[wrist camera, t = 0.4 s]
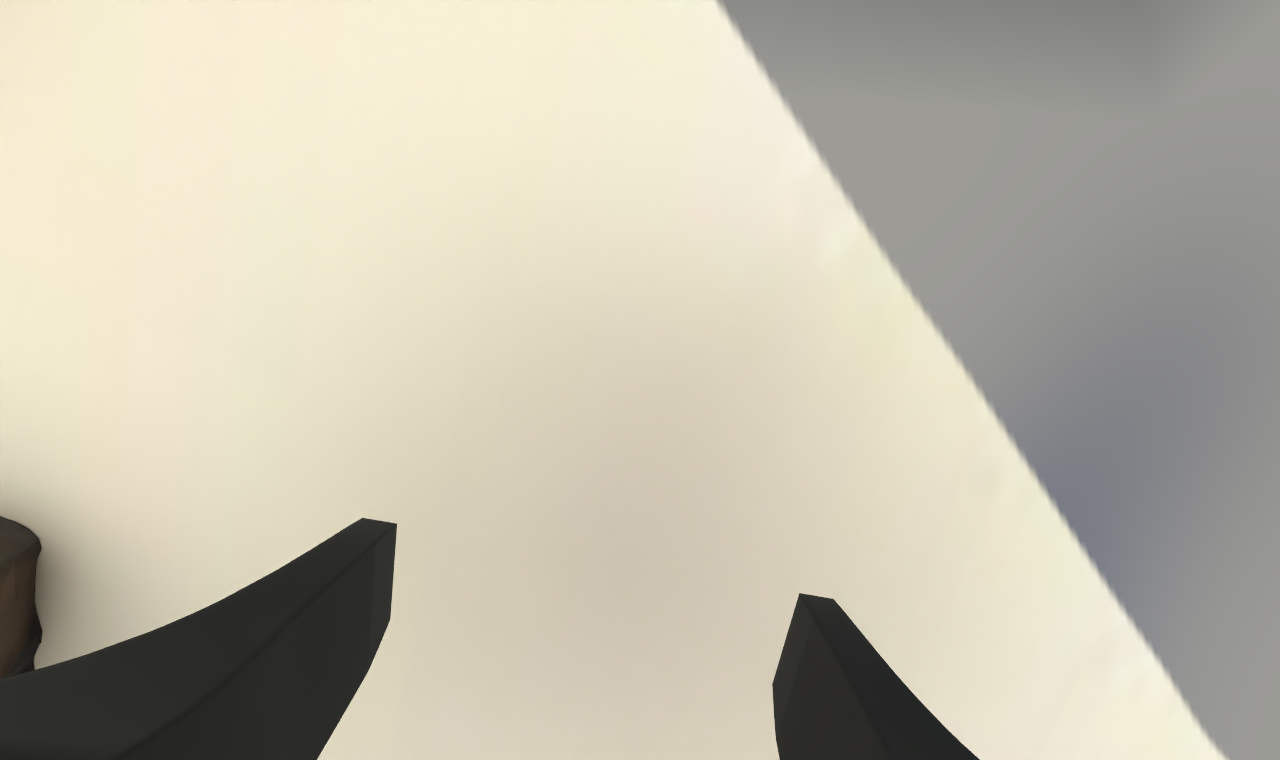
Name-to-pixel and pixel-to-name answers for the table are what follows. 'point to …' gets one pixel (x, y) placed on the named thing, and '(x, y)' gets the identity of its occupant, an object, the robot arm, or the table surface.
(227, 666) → the robot arm
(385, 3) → the table surface
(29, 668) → the owl
